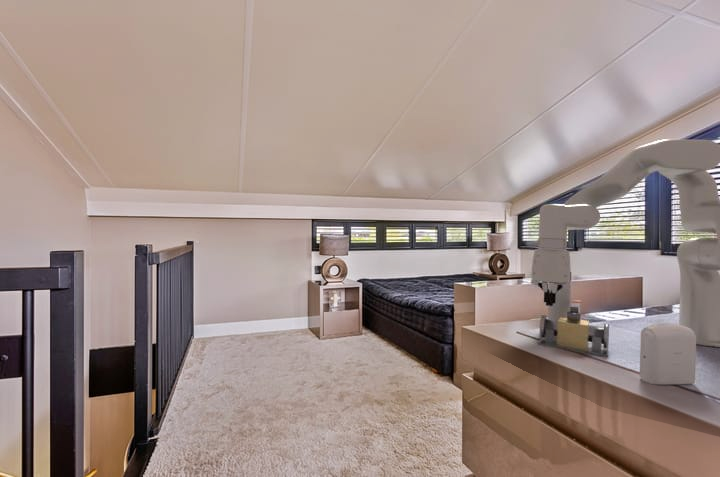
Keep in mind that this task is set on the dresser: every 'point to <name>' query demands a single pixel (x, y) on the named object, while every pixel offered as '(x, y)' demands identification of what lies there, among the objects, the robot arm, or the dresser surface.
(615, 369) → the dresser surface
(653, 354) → the photo printer
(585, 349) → the grey vise
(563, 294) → the travel mug
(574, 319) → the lever
